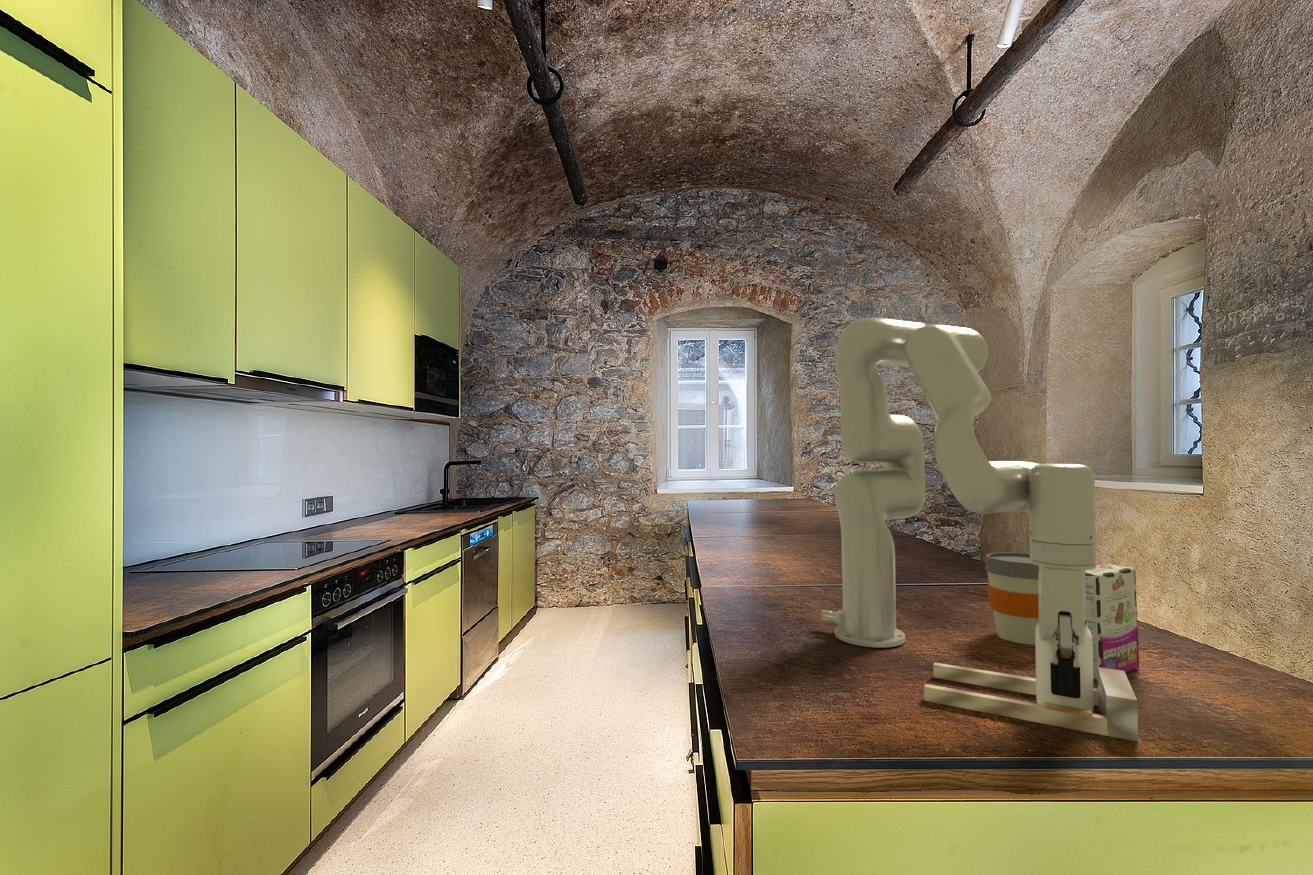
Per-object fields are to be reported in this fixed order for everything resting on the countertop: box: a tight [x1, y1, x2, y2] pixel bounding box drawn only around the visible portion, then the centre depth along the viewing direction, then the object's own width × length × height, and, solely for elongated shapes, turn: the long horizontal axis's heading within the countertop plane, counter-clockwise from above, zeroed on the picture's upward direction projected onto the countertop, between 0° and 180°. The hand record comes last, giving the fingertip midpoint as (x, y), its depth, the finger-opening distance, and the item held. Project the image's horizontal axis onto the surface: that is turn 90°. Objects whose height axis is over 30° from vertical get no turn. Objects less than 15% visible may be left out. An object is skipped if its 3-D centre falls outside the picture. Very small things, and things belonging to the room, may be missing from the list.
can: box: [1034, 615, 1094, 714], centre depth 83 cm, size 6×6×12 cm
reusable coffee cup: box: [984, 551, 1039, 646], centre depth 115 cm, size 12×12×15 cm
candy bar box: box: [1070, 563, 1141, 681], centre depth 98 cm, size 11×5×16 cm, turn 117°
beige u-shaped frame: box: [923, 662, 1139, 742], centre depth 85 cm, size 24×11×5 cm, turn 59°
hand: (1064, 685), depth 83 cm, fingers closed on can, 6 cm apart
